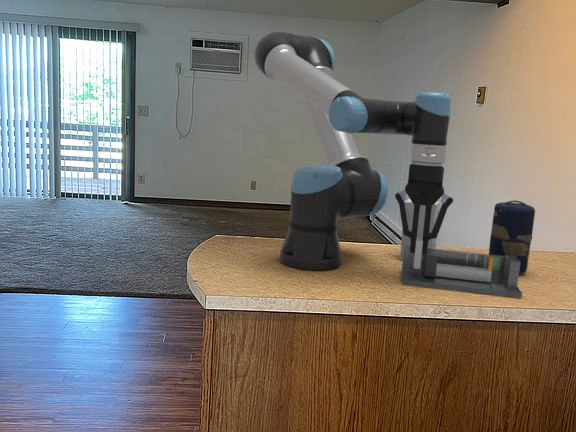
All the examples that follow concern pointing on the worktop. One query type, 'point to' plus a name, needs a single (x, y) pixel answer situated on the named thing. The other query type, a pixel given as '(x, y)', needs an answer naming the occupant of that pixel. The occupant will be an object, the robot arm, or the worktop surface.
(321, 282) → the worktop surface
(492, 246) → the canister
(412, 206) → the skincare box
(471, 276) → the capped sliding bar
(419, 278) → the rail
